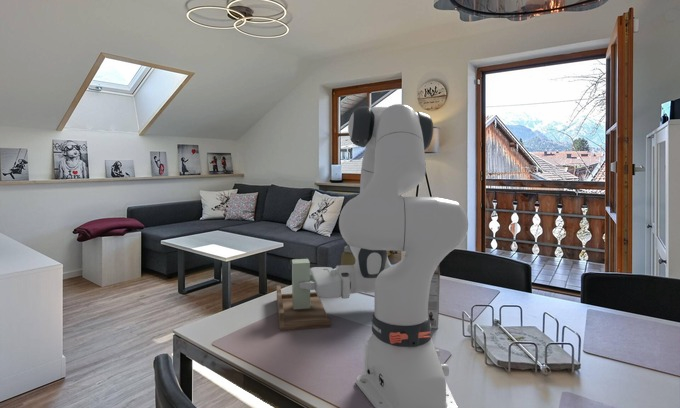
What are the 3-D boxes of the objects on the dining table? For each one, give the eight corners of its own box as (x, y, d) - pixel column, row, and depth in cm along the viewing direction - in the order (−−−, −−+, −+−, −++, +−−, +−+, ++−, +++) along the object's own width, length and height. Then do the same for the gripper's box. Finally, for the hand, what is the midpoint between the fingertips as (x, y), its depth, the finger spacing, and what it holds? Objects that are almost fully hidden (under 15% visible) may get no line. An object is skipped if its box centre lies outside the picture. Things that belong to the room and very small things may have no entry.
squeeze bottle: (347, 280, 156) (347, 234, 154) (365, 284, 151) (365, 236, 149) (335, 285, 149) (335, 237, 147) (353, 289, 145) (353, 240, 143)
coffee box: (415, 315, 121) (417, 262, 119) (437, 316, 120) (439, 264, 118) (415, 327, 112) (416, 271, 110) (438, 329, 111) (440, 272, 109)
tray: (330, 326, 112) (330, 309, 112) (279, 330, 110) (279, 313, 109) (318, 297, 137) (318, 282, 136) (276, 299, 134) (276, 285, 133)
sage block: (310, 308, 121) (309, 262, 119) (293, 309, 120) (293, 263, 118) (308, 302, 126) (308, 258, 124) (292, 303, 125) (291, 259, 123)
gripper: (336, 261, 134) (295, 263, 132) (349, 279, 114) (300, 281, 112) (336, 279, 135) (295, 282, 132) (349, 300, 115) (301, 303, 112)
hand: (298, 282), depth 122 cm, fingers closed on sage block, 5 cm apart
